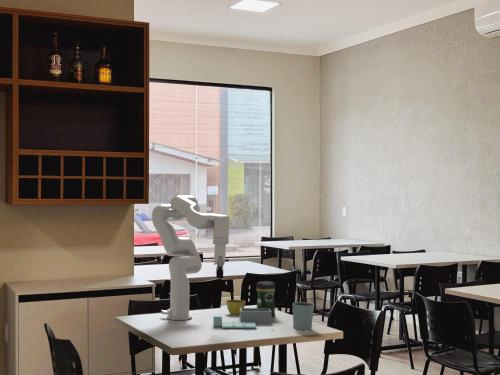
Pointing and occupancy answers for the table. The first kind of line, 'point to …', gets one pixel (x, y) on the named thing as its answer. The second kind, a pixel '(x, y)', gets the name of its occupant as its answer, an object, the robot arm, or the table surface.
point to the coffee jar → (266, 295)
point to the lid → (232, 323)
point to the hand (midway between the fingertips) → (219, 276)
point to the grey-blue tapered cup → (302, 315)
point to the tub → (256, 315)
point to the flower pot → (235, 306)
